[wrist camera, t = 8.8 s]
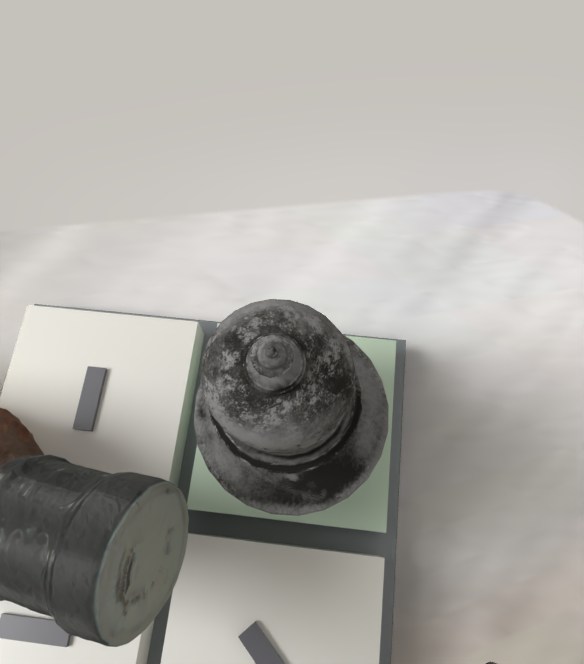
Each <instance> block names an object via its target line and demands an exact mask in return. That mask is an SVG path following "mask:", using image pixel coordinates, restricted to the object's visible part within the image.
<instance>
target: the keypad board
mask: <svg viewBox="0 0 584 664" xmlns="http://www.w3.org/2000/svg"><path fill="white" fill-rule="evenodd" d="M217 323H221V322H213V321H203V320H193V319H183V318H172V317H162V316H152V315H142V314H132V313H121V312H111V311H101V310H91V309H81V308H70V307H60V306H50V305H40V304H34V306H33V305H27V308H26V311H25V315H24V318H23V321H22V325H21V328H20V332H19V335H18V338H17V342H16V345H15V349H14V352H13V355H12V359H11V362H10V365H9V369H8V372H7V376H6V379H5V382H4V386H3V389H2V392H1V396H0V408H3V409H7V410H8V411H10V412H11V413H12V414H13V415H14V416H16V417H17V418H19V420H20V421H21V423H22V424H23V425H24V426H25V427H27V429H28V430H29V432H30V433H32V434H33V437H34V440H35V442H36V443H37V444H38V445H39V447H40V449H41V450H42V452H43V453H44V455H53V456H57V457H60V458H65V459H66V460H67V461H69V462H70V463H72V464H75V465H80V466H83V467H86V468H91V469H95V470H99V471H103V472H107V473H111V474H115V473H119V472H134V473H139V474H143V475H148V476H152V477H157V478H162V479H164V480H166V481H169V482H171V483H173V484H174V485H176V486H177V487H178V488H179V489H180V490H181V491H182V493H183V495H184V498H185V500H186V503H187V501H188V495H189V489H190V483H191V477H192V471H193V466H194V460H195V454H196V448H197V439H196V432H195V426H194V412H195V403H196V395H197V392H198V389H199V387H200V384H201V368H202V357H203V354H204V351H205V349H206V346H207V343H208V340H209V338H210V337H211V335H212V334H213V333H214V331H215V330H216V328H217ZM343 335H344V336H354V337H364V338H375V339H385V340H395V341H396V356H395V376H394V395H393V414H392V433H391V452H390V471H389V490H388V509H387V528H386V533H383V532H374V531H366V530H358V529H349V528H341V527H333V526H324V525H316V524H308V523H299V522H291V521H283V520H274V519H266V518H258V517H249V516H241V515H233V514H224V513H216V512H208V511H199V510H191V509H188V516H189V522H188V539H187V545H186V552H185V556H184V560H183V563H182V567H181V570H180V573H179V576H178V579H177V582H176V584H175V586H174V588H173V590H172V593H171V595H170V597H169V599H168V600H167V601H166V603H165V604H164V606H163V607H162V609H161V610H160V612H159V613H158V615H157V616H156V617H155V619H154V620H153V621H152V622H151V624H150V625H149V626H148V627H147V628H146V630H144V631H143V632H142V633H141V634H140V635H139V636H137V637H136V638H135V639H134V640H132V641H131V642H129V643H128V644H125V645H122V646H118V647H109V646H105V645H102V644H100V643H96V642H93V641H89V640H85V639H82V638H80V637H77V636H74V635H70V634H68V633H66V632H65V631H64V630H63V629H62V628H61V627H60V626H58V625H57V624H56V622H55V621H54V619H53V617H50V616H47V615H44V614H40V613H37V612H34V611H31V610H29V609H27V608H25V607H22V606H20V605H17V604H15V603H12V602H10V601H6V600H4V601H0V664H391V646H392V625H393V603H394V582H395V560H396V539H397V517H398V496H399V474H400V453H401V431H402V410H403V388H404V367H405V345H406V340H397V339H387V338H376V337H366V336H356V335H346V334H343Z"/></svg>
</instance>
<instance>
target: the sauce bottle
mask: <svg viewBox="0 0 584 664" xmlns="http://www.w3.org/2000/svg"><path fill="white" fill-rule="evenodd" d="M188 522H189V516H188V506H187V503H186V500H185V498H184V495H183V493H182V491H181V490H180V489H179V488H178V487H177V486H176V485H174V484H173V483H171V482H169V481H166V480H164V479H162V478H157V477H152V476H148V475H143V474H139V473H134V472H119V473H115V474H111V473H107V472H103V471H99V470H95V469H91V468H86V467H83V466H80V465H75V464H72V463H70V462H69V461H67V460H66V459H65V458H60V457H57V456H53V455H44V453H43V452H42V450H41V449H40V447H39V445H38V444H37V443H36V442H35V440H34V437H33V434H32V433H30V432H29V430H28V429H27V427H25V426H24V425H23V424H22V423H21V421H20V420H19V418H17V417H16V416H14V415H13V414H12V413H11V412H10V411H8V410H7V409H3V408H0V601H4V600H6V601H10V602H12V603H15V604H17V605H20V606H22V607H25V608H27V609H29V610H31V611H34V612H37V613H40V614H44V615H47V616H50V617H53V619H54V621H55V622H56V624H57V625H58V626H60V627H61V628H62V629H63V630H64V631H65V632H66V633H68V634H70V635H74V636H77V637H80V638H82V639H85V640H89V641H93V642H96V643H100V644H102V645H105V646H109V647H118V646H122V645H125V644H128V643H129V642H131V641H132V640H134V639H135V638H136V637H137V636H139V635H140V634H141V633H142V632H143V631H144V630H146V628H147V627H148V626H149V625H150V624H151V622H152V621H153V620H154V619H155V617H156V616H157V615H158V613H159V612H160V610H161V609H162V607H163V606H164V604H165V603H166V601H167V600H168V599H169V597H170V595H171V593H172V590H173V588H174V586H175V584H176V582H177V579H178V576H179V573H180V570H181V567H182V563H183V560H184V556H185V552H186V545H187V539H188Z"/></svg>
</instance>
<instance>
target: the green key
mask: <svg viewBox="0 0 584 664" xmlns="http://www.w3.org/2000/svg"><path fill="white" fill-rule="evenodd" d="M219 324H220V323H217V327H218V326H219ZM346 337H348V338H349V339H351V340H353V341H354V342H355V344H356V345H357V346H358V347H359V348H360V349H361V350H362V351H363V352H364V353H365V354H366V355H367V356H368V357H369V358H370V360H371V361H372V363H373V365H374V367H375V369H376V370H377V372H378V374H379V376H380V377H381V379H382V382H383V386H384V389H385V393H386V397H387V401H388V405H389V411H388V434H387V438H386V441H385V445H384V448H383V452H382V455H381V458H380V459H379V461H378V463H377V464H376V466H375V468H374V469H373V471H372V473H371V474H370V476H369V478H368V479H367V480H366V481H365V482H364V483H363V484H362V485H361V486H360V487H359V488H358V489H357V490H356V491H355V492H354V493H353V494H352V495H350V496H349V497H348V498H347V499H345V500H343V501H341V502H339V503H337V504H335V505H333V506H332V507H330V508H328V509H326V510H323V511H318V512H314V513H309V514H305V515H300V516H293V515H276V514H270V513H267V512H264V511H261V510H258V509H255V508H253V507H250V506H247V505H245V504H244V503H243V502H241V501H240V500H238V499H237V498H235V497H234V496H233V495H231V494H230V493H228V492H227V491H225V490H224V488H223V487H222V486H221V485H220V484H219V482H218V481H217V480H216V479H215V477H214V476H213V475H212V474H211V473H210V471H209V470H208V468H207V466H206V464H205V461H204V459H203V457H202V455H201V452H200V450H199V448H198V445H197V448H196V454H195V460H194V466H193V471H192V477H191V483H190V489H189V495H188V501H187V506H188V509H191V510H199V511H208V512H216V513H224V514H233V515H241V516H249V517H258V518H266V519H274V520H283V521H291V522H299V523H308V524H316V525H324V526H333V527H341V528H349V529H358V530H366V531H374V532H383V533H386V528H387V509H388V490H389V471H390V452H391V433H392V414H393V395H394V376H395V356H396V341H395V340H385V339H375V338H364V337H354V336H346Z"/></svg>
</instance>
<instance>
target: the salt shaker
mask: <svg viewBox="0 0 584 664" xmlns="http://www.w3.org/2000/svg"><path fill="white" fill-rule="evenodd" d="M388 411H389V405H388V401H387V397H386V393H385V389H384V386H383V382H382V379H381V377H380V376H379V374H378V372H377V370H376V369H375V367H374V365H373V363H372V361H371V360H370V358H369V357H368V356H367V355H366V354H365V353H364V352H363V351H362V350H361V349H360V348H359V347H358V346H357V345H356V344H355V342H354V341H353V340H351V339H349V338H348V337H346V336H344V335H343V334H342V333H341V332H340V331H339V330H338V329H337V328H336V327H335V325H334V324H333V323H332V322H331V321H330V320H329V319H328V318H327V317H326V316H324V315H323V314H321V313H320V312H318V311H316V310H315V309H313V308H311V307H310V306H307V305H304V304H301V303H298V302H294V301H291V300H277V299H269V300H264V301H259V302H254V303H251V304H249V305H246V306H244V307H242V308H240V309H238V310H236V311H234V312H233V313H232V314H231V315H229V316H228V317H227V318H226V319H225V320H223V321H222V322H221V323H220V324H219V326H218V327H217V328H216V330H215V331H214V333H213V334H212V335H211V337H210V338H209V340H208V343H207V346H206V349H205V351H204V354H203V357H202V368H201V384H200V387H199V389H198V392H197V395H196V403H195V412H194V426H195V432H196V439H197V445H198V448H199V450H200V452H201V455H202V457H203V459H204V461H205V464H206V466H207V468H208V470H209V471H210V473H211V474H212V475H213V476H214V477H215V479H216V480H217V481H218V482H219V484H220V485H221V486H222V487H223V488H224V490H225V491H227V492H228V493H230V494H231V495H233V496H234V497H235V498H237V499H238V500H240V501H241V502H243V503H244V504H245V505H247V506H250V507H253V508H255V509H258V510H261V511H264V512H267V513H270V514H276V515H293V516H300V515H305V514H309V513H314V512H318V511H323V510H326V509H328V508H330V507H332V506H333V505H335V504H337V503H339V502H341V501H343V500H345V499H347V498H348V497H349V496H350V495H352V494H353V493H354V492H355V491H356V490H357V489H358V488H359V487H360V486H361V485H362V484H363V483H364V482H365V481H366V480H367V479H368V478H369V476H370V474H371V473H372V471H373V469H374V468H375V466H376V464H377V463H378V461H379V459H380V458H381V455H382V452H383V448H384V445H385V441H386V438H387V434H388Z"/></svg>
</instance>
